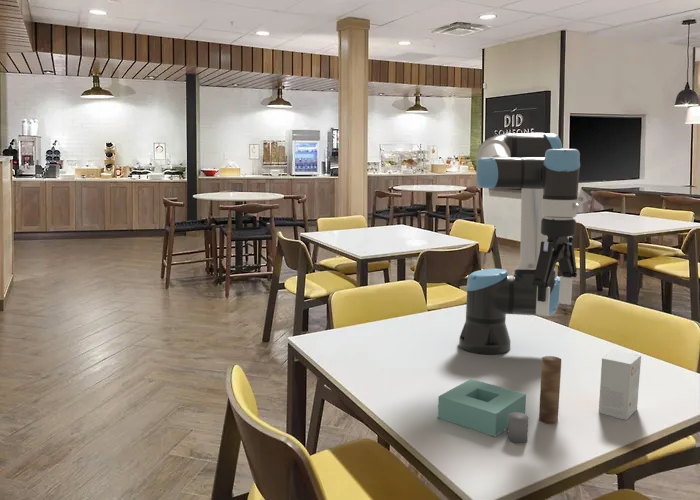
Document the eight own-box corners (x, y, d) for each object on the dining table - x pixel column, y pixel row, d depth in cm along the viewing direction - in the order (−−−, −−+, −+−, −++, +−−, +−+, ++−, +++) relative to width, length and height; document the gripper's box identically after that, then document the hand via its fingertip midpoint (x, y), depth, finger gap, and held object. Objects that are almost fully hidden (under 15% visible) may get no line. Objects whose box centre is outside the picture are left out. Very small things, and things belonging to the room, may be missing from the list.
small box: (609, 402, 147) (613, 349, 145) (637, 409, 143) (642, 354, 141) (597, 413, 141) (601, 357, 139) (626, 420, 137) (631, 364, 135)
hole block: (438, 417, 139) (438, 396, 138) (470, 398, 149) (470, 378, 148) (495, 436, 130) (496, 413, 129) (525, 415, 140) (526, 393, 139)
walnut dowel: (535, 420, 137) (538, 359, 135) (543, 414, 140) (546, 354, 138) (553, 425, 135) (556, 363, 132) (560, 419, 138) (564, 358, 135)
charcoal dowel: (503, 439, 128) (504, 416, 127) (512, 433, 131) (513, 410, 130) (522, 445, 126) (523, 422, 125) (530, 438, 129) (531, 415, 128)
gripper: (554, 223, 129) (548, 323, 132) (594, 214, 148) (588, 301, 152) (519, 221, 134) (515, 317, 137) (563, 212, 153) (558, 297, 156)
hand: (553, 309), depth 144 cm, fingers open, 13 cm apart
